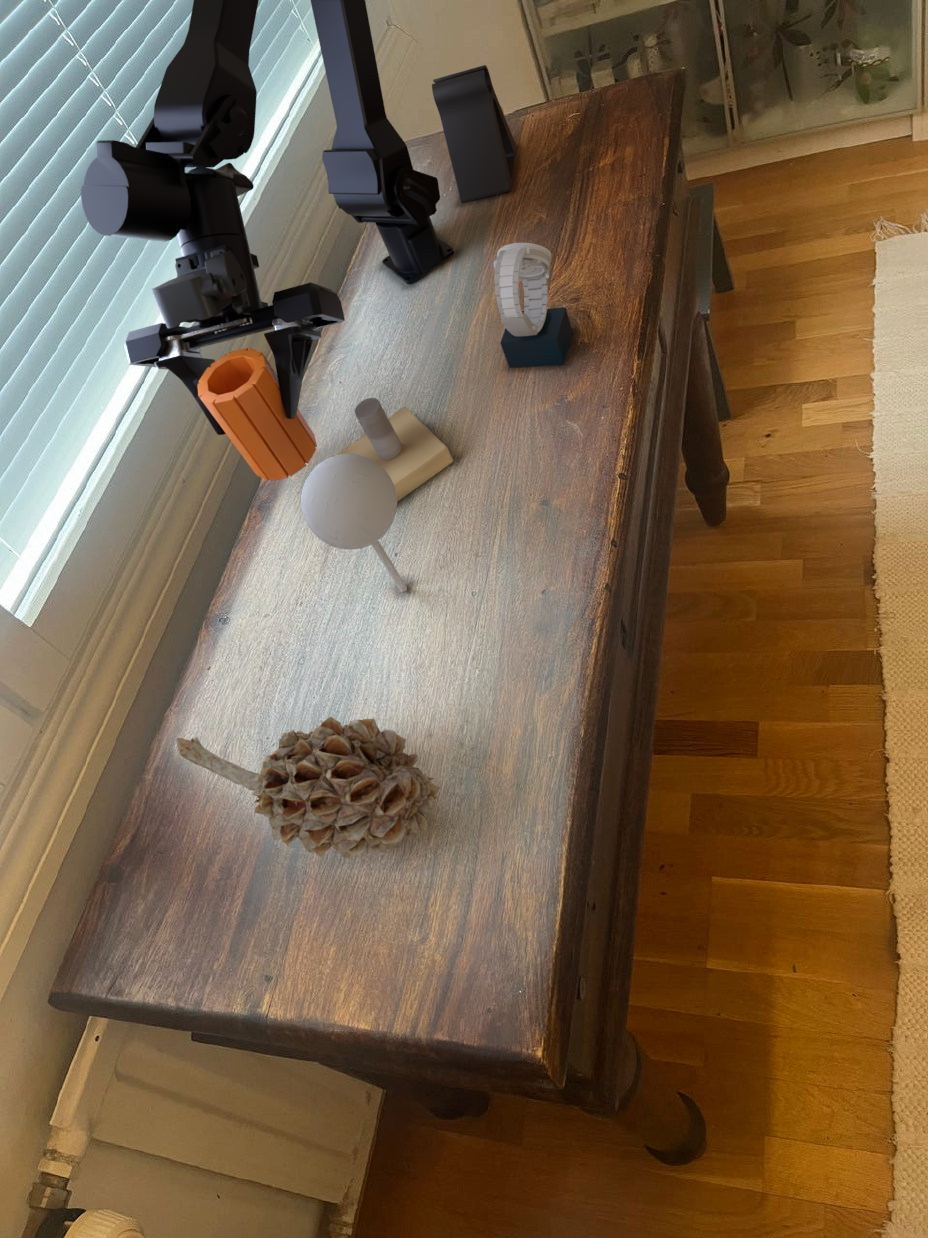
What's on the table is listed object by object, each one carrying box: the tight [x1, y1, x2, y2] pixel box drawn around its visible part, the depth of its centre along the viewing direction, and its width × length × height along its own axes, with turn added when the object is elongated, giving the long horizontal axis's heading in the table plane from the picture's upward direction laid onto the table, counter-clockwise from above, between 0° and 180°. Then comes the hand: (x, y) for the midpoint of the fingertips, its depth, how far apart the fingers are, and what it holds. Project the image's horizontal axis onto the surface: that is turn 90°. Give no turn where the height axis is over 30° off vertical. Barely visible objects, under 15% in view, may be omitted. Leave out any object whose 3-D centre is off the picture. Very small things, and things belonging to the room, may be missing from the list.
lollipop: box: [300, 454, 408, 593], centre depth 72 cm, size 7×7×15 cm
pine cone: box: [175, 716, 441, 860], centre depth 65 cm, size 22×10×10 cm, turn 74°
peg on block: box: [336, 397, 454, 503], centre depth 84 cm, size 8×8×8 cm
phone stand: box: [431, 64, 518, 204], centre depth 105 cm, size 9×6×12 cm, turn 173°
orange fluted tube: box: [197, 347, 318, 482], centre depth 83 cm, size 6×7×10 cm
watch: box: [493, 242, 574, 369], centre depth 85 cm, size 6×8×11 cm
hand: (256, 426), depth 82 cm, fingers closed on orange fluted tube, 6 cm apart
